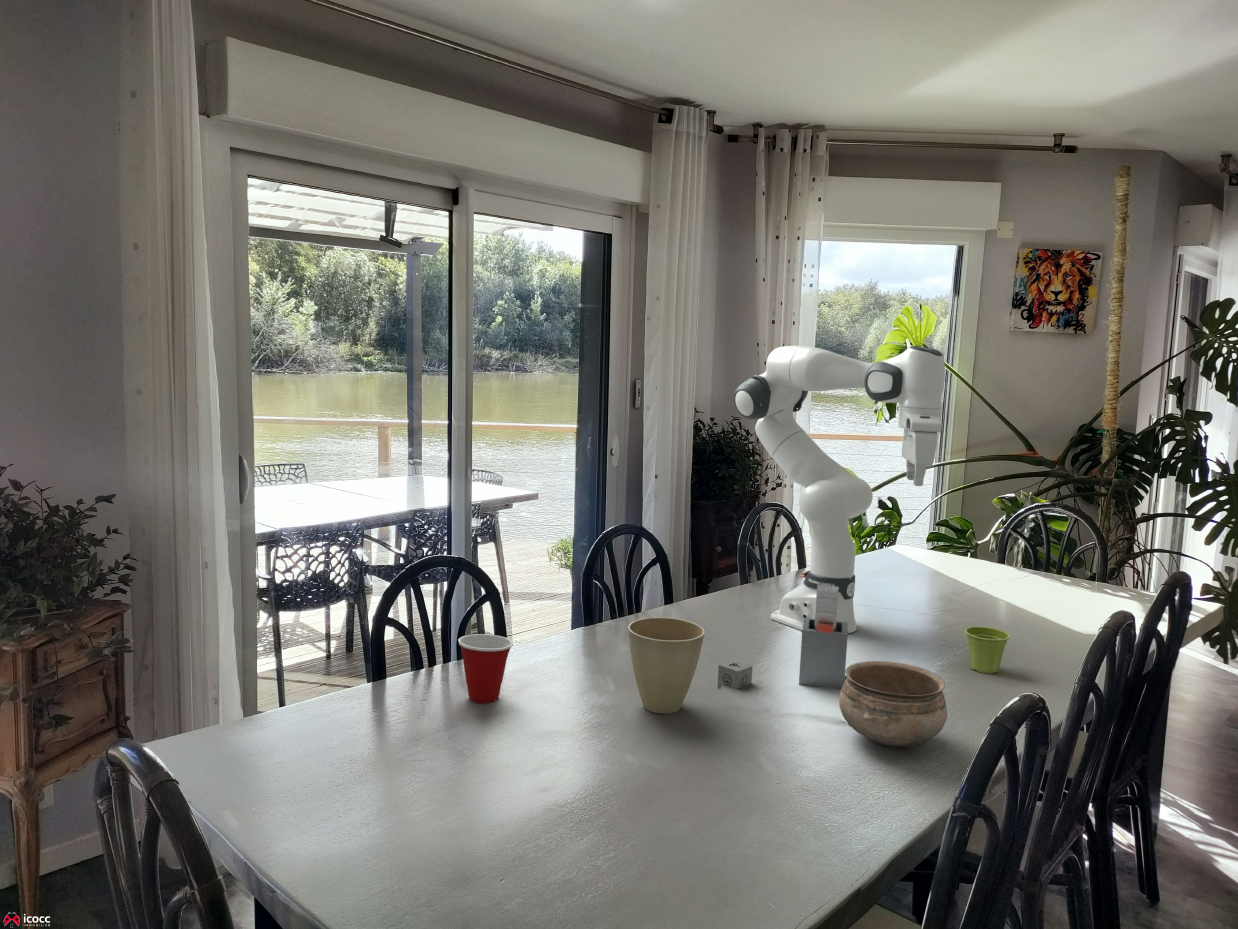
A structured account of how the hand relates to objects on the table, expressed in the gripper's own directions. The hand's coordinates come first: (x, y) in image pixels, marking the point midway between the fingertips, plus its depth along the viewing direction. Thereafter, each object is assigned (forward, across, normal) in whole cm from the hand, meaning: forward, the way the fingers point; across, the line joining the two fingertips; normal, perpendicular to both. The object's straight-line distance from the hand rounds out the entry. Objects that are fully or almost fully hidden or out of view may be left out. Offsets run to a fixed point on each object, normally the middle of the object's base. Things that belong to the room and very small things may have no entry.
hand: (914, 482), depth 201 cm
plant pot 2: (+43, -3, +19) cm, 47 cm away
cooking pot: (+43, +42, -8) cm, 61 cm away
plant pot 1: (+43, +36, -50) cm, 76 cm away
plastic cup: (+44, +40, -85) cm, 104 cm away
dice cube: (+43, +23, -37) cm, 61 cm away
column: (+42, +16, -18) cm, 48 cm away
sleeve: (+43, +16, -18) cm, 49 cm away
